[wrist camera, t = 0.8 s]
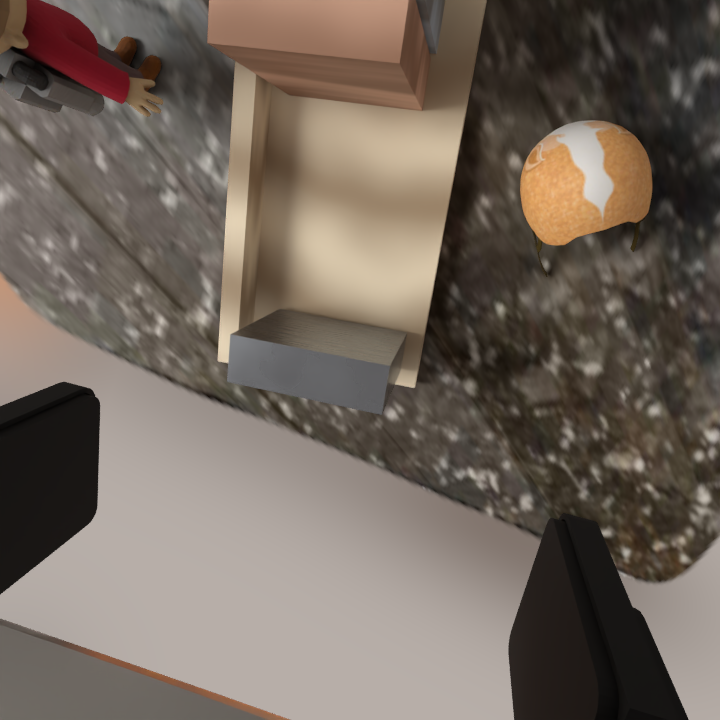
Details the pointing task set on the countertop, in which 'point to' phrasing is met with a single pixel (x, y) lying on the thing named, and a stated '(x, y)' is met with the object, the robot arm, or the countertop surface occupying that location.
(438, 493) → the countertop surface
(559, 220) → the helmet
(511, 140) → the countertop surface
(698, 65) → the countertop surface
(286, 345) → the bookend
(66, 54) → the toy
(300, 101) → the book rack
